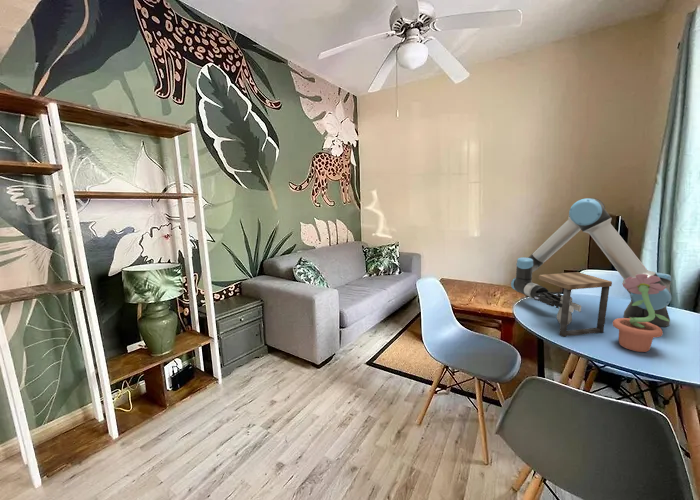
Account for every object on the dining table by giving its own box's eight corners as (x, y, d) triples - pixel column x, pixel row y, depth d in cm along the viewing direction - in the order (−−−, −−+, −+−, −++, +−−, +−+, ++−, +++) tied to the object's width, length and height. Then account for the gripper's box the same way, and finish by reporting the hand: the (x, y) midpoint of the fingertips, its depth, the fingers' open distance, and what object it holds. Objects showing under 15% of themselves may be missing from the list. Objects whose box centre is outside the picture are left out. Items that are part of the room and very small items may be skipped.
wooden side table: (573, 318, 142) (578, 272, 138) (605, 332, 126) (612, 281, 122) (534, 321, 139) (538, 274, 135) (562, 337, 124) (568, 285, 119)
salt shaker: (558, 325, 133) (561, 297, 131) (554, 319, 138) (556, 293, 136) (573, 326, 131) (576, 298, 129) (568, 321, 137) (571, 294, 134)
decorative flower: (661, 346, 114) (674, 272, 108) (665, 362, 104) (680, 280, 98) (610, 335, 124) (619, 266, 118) (609, 348, 114) (620, 274, 108)
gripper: (549, 297, 152) (591, 315, 129) (521, 300, 150) (559, 318, 127) (551, 283, 151) (593, 299, 128) (522, 286, 149) (560, 302, 126)
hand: (576, 309), depth 128 cm, fingers closed on salt shaker, 3 cm apart
